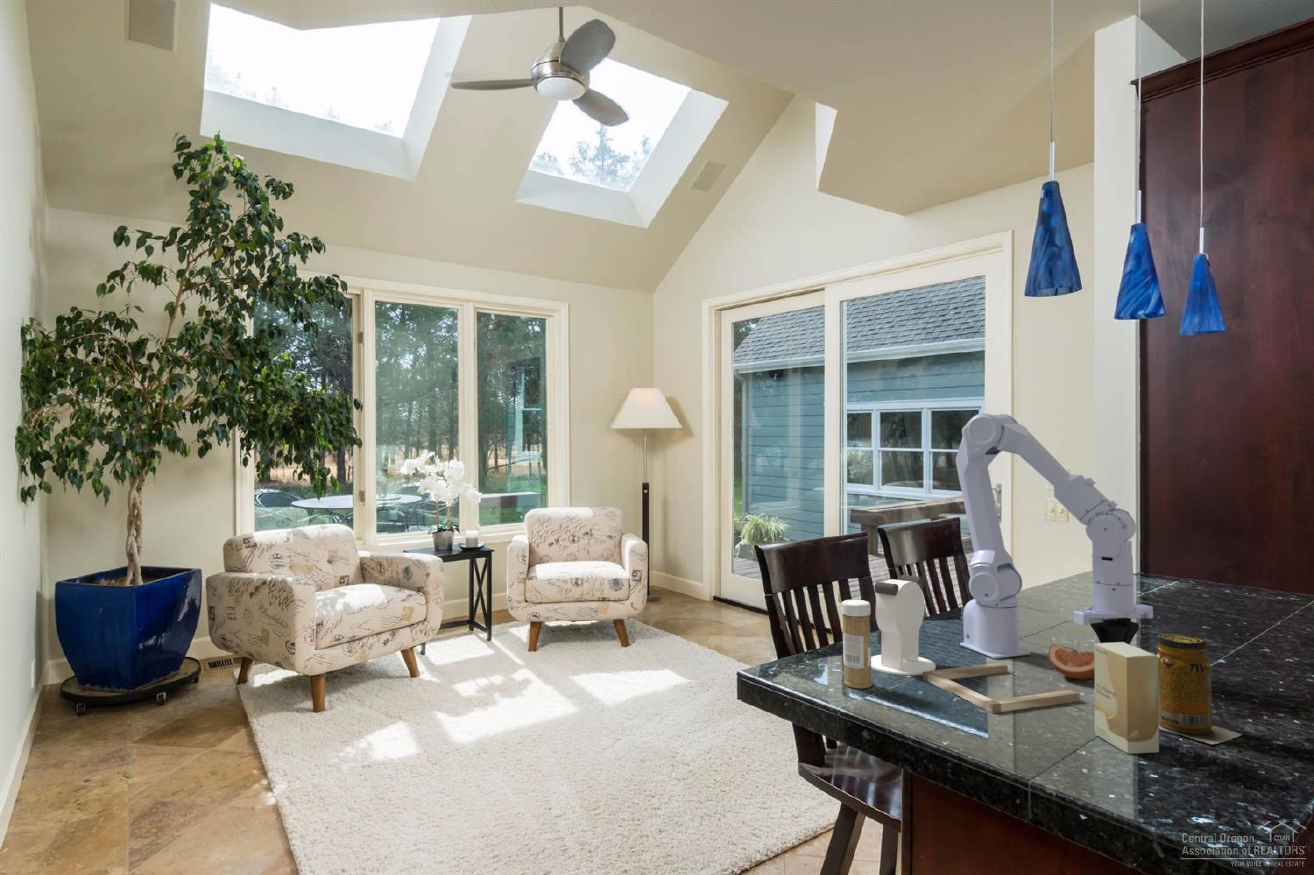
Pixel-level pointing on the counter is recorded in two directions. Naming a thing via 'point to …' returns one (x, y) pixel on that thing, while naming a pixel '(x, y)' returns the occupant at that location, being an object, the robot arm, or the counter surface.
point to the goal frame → (993, 706)
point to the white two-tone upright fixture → (900, 626)
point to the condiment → (1187, 690)
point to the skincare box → (1127, 697)
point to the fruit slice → (1072, 662)
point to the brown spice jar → (856, 643)
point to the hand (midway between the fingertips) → (1115, 664)
